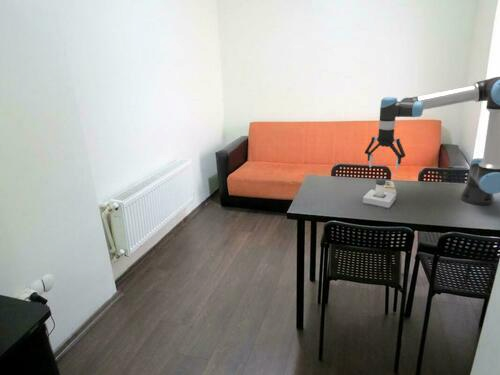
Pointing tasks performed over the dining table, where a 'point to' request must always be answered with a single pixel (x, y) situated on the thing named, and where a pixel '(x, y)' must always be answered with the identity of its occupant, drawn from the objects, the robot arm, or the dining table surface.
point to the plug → (380, 188)
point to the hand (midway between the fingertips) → (383, 168)
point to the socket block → (379, 199)
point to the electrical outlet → (390, 187)
